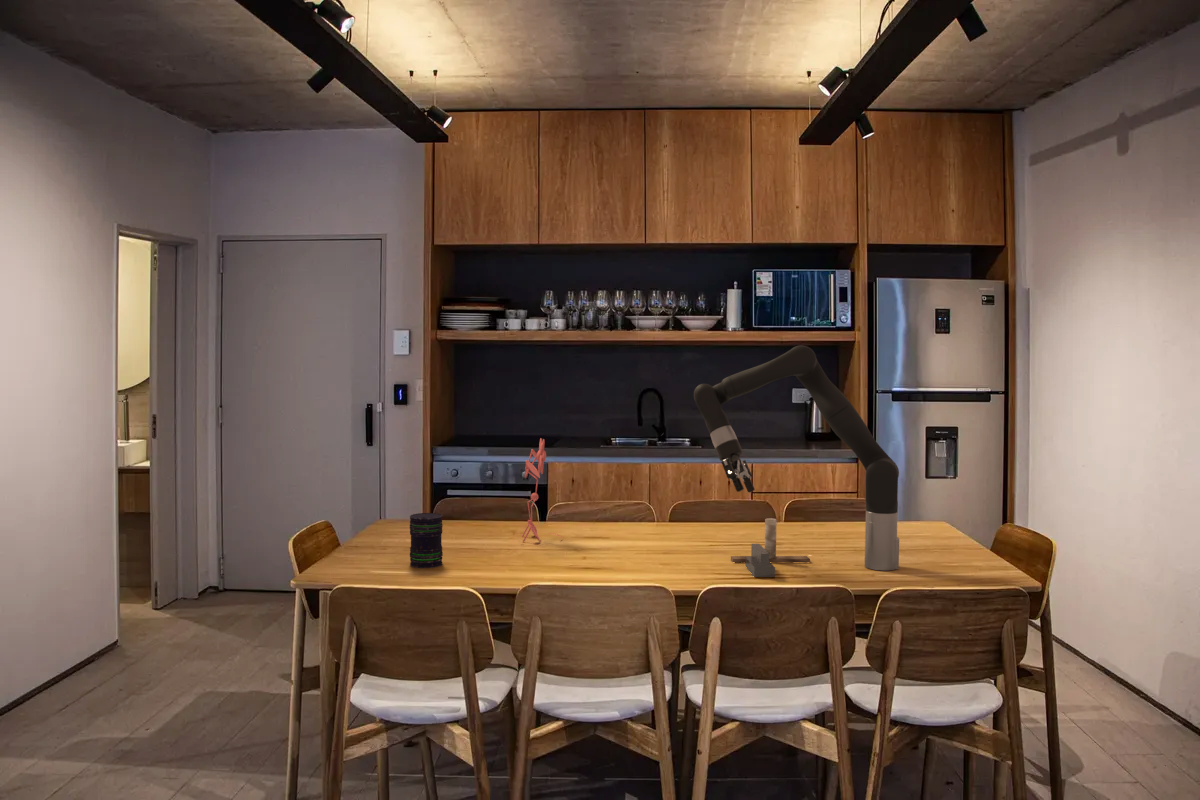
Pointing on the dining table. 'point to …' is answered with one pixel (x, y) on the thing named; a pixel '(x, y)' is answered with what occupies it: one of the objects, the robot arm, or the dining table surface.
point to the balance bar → (772, 546)
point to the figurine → (540, 458)
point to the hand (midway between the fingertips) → (746, 491)
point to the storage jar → (426, 540)
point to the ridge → (759, 562)
